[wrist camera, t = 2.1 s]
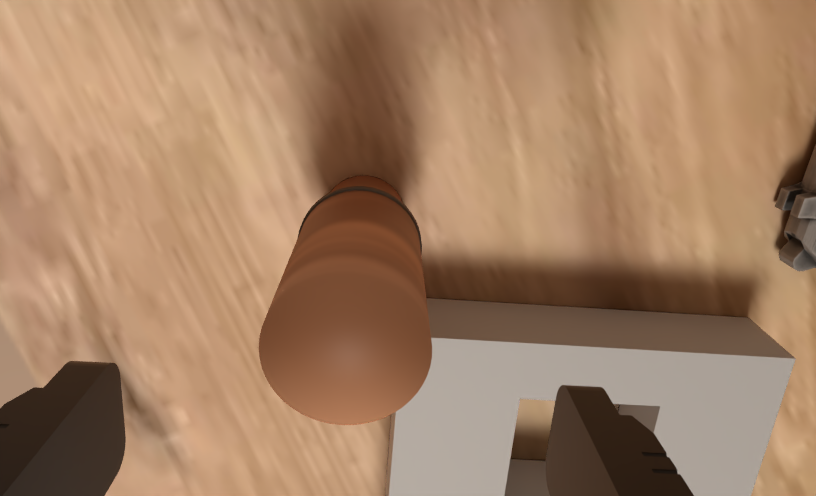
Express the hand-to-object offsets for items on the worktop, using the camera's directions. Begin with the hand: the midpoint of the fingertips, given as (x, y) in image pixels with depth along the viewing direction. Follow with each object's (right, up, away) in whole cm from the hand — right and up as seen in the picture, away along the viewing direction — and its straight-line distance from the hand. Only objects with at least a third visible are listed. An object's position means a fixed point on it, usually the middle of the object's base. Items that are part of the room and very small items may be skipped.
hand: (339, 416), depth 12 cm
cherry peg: (0, +4, +11) cm, 11 cm away
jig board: (+7, -8, +15) cm, 18 cm away
